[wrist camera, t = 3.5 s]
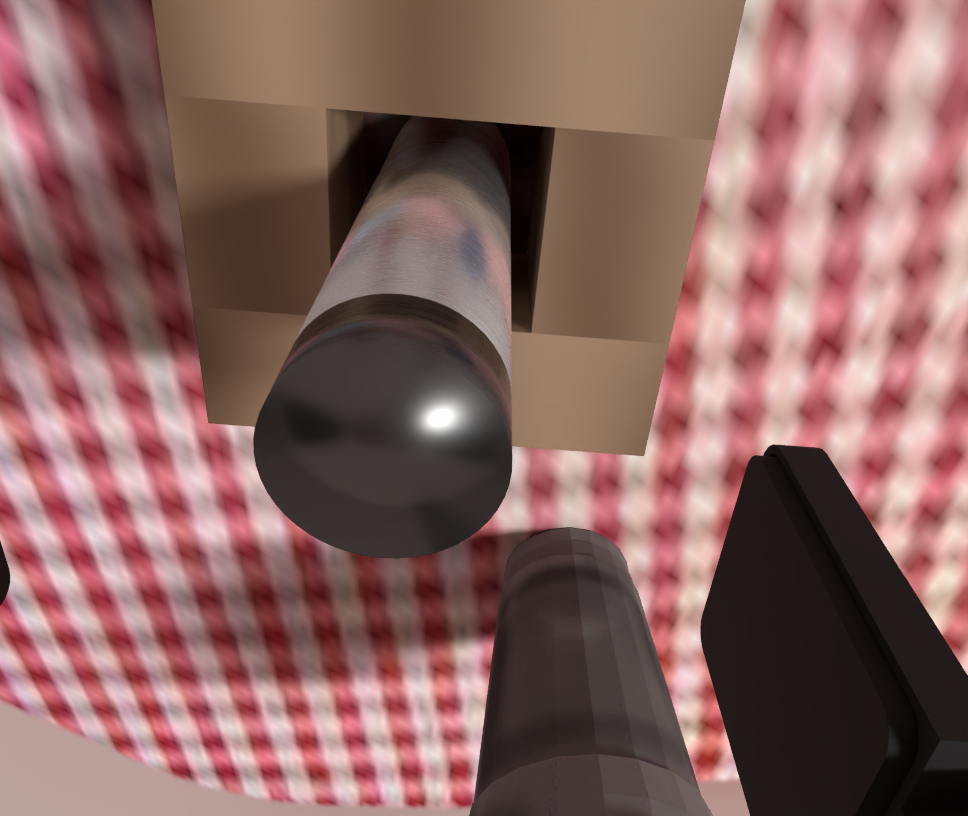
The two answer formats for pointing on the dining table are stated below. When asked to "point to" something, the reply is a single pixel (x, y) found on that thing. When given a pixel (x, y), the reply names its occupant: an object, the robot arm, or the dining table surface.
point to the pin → (404, 358)
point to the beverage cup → (578, 693)
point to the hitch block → (466, 96)
